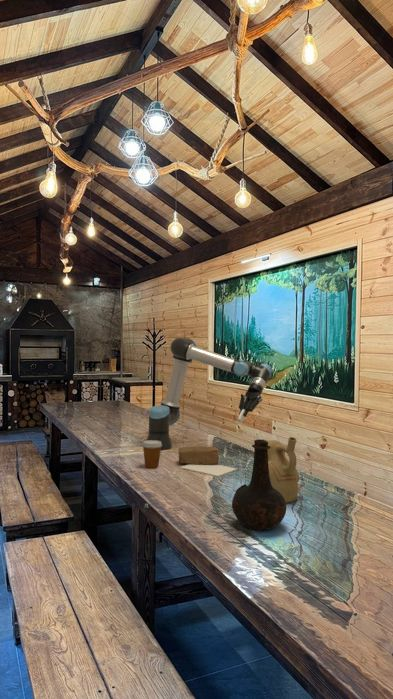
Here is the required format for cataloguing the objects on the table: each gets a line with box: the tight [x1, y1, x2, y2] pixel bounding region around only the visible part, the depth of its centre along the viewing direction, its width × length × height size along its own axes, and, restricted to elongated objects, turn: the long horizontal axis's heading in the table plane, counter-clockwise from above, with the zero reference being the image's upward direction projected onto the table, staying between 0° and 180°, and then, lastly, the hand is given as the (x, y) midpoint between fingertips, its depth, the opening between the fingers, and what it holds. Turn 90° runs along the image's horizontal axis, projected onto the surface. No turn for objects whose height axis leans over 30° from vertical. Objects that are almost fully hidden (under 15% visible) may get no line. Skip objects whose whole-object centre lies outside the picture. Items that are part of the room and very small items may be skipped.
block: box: [178, 446, 220, 465], centre depth 226 cm, size 11×8×20 cm
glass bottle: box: [231, 439, 287, 531], centre depth 148 cm, size 18×18×28 cm
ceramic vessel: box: [268, 436, 300, 504], centre depth 176 cm, size 17×20×25 cm
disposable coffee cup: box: [142, 439, 162, 469], centre depth 217 cm, size 10×10×12 cm
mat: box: [179, 463, 238, 478], centre depth 216 cm, size 22×16×1 cm
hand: (239, 420), depth 237 cm, fingers closed
